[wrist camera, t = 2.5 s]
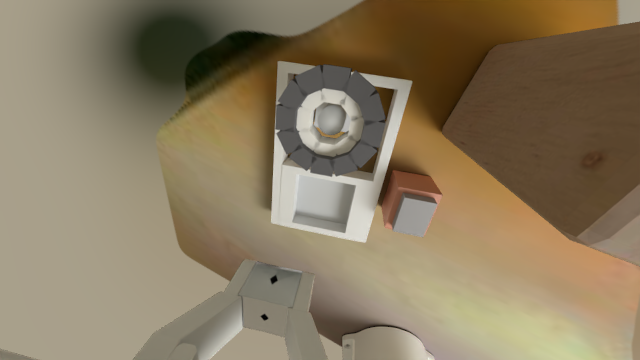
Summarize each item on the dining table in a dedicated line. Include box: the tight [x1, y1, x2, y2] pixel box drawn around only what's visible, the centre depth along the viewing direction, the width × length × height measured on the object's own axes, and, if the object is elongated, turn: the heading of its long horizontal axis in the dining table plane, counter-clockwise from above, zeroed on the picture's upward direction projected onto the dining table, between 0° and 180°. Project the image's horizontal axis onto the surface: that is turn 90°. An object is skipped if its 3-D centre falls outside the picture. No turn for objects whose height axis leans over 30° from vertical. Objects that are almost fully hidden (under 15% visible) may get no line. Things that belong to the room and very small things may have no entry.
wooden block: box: [442, 22, 640, 266], centre depth 17 cm, size 10×10×20 cm
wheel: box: [275, 64, 386, 177], centre depth 20 cm, size 9×9×3 cm
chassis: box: [271, 61, 413, 243], centre depth 27 cm, size 22×14×9 cm, turn 173°
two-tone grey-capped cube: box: [382, 170, 442, 237], centre depth 29 cm, size 6×5×6 cm
